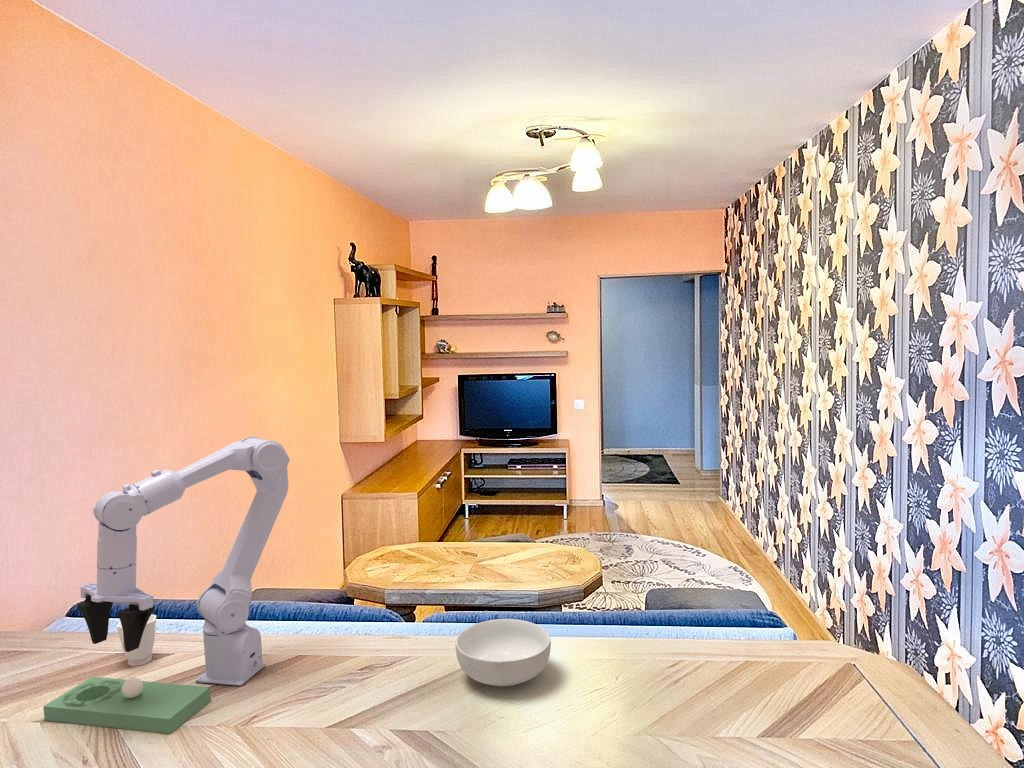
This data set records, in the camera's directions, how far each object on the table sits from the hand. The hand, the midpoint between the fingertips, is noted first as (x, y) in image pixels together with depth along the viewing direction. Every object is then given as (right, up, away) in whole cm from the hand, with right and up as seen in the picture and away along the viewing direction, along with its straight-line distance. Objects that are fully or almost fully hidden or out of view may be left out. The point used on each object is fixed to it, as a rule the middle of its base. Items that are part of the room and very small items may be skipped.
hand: (115, 645), depth 117 cm
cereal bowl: (+65, -9, +8) cm, 66 cm away
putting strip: (+2, -11, +1) cm, 11 cm away
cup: (-7, -10, +21) cm, 24 cm away
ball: (+2, -7, +1) cm, 8 cm away
